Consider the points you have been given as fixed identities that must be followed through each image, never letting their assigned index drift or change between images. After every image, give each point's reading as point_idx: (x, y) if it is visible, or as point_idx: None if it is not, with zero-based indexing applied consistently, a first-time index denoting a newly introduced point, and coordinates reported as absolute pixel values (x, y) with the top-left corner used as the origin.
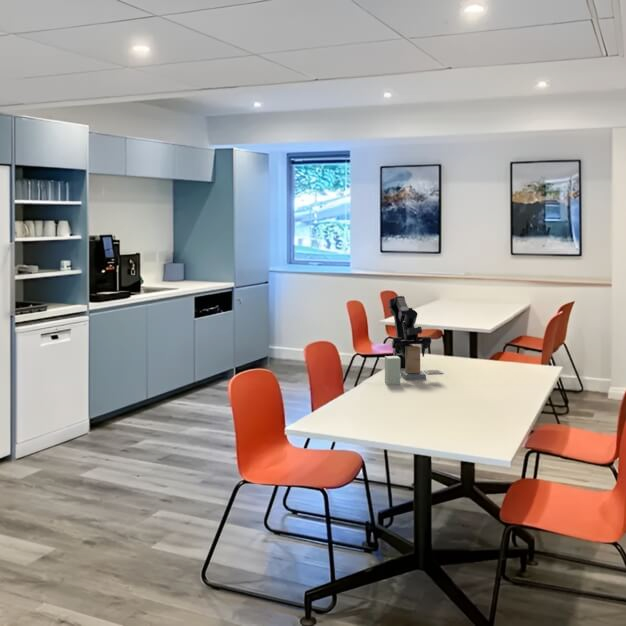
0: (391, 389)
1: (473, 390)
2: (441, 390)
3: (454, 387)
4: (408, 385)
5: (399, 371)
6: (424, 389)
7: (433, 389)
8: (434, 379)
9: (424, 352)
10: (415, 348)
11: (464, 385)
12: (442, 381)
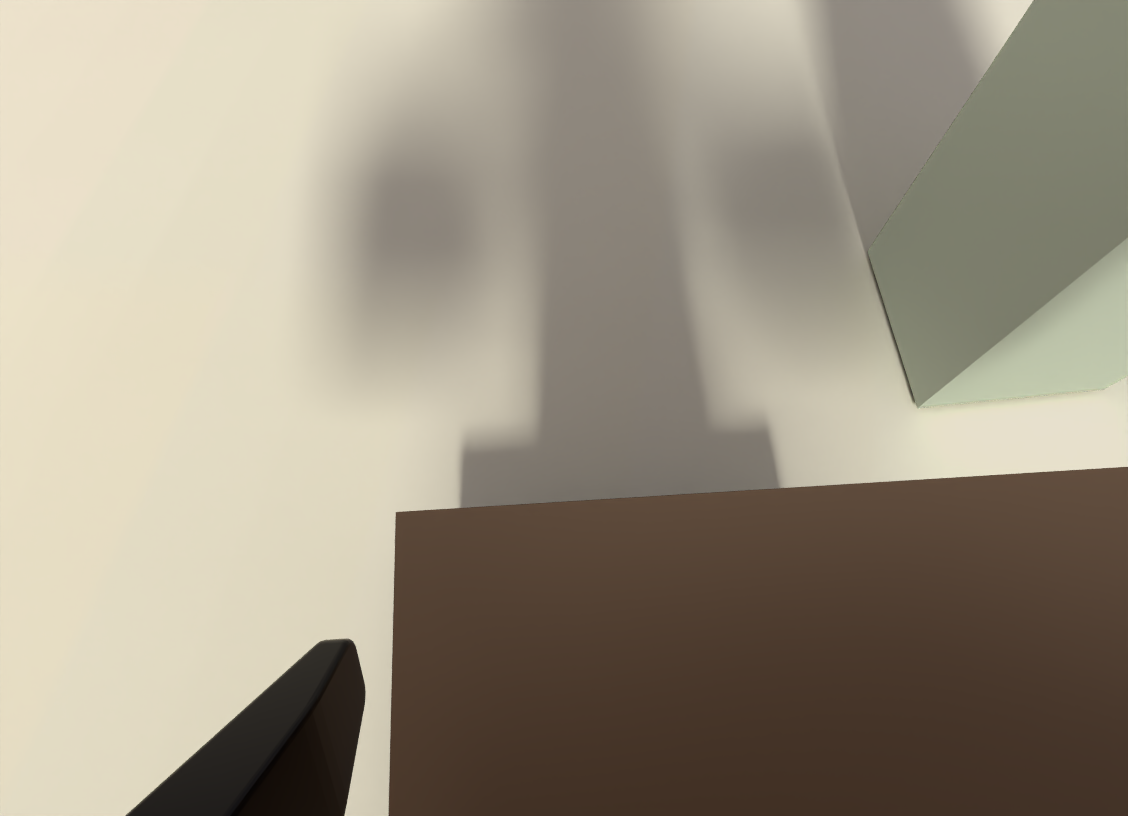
0: (961, 63)
1: (109, 7)
2: (424, 15)
3: (239, 117)
4: (757, 223)
5: (973, 113)
6: (592, 53)
7: (496, 50)
8: (317, 565)
9: (225, 727)
10: (698, 503)
11: (80, 196)
12: (250, 419)
